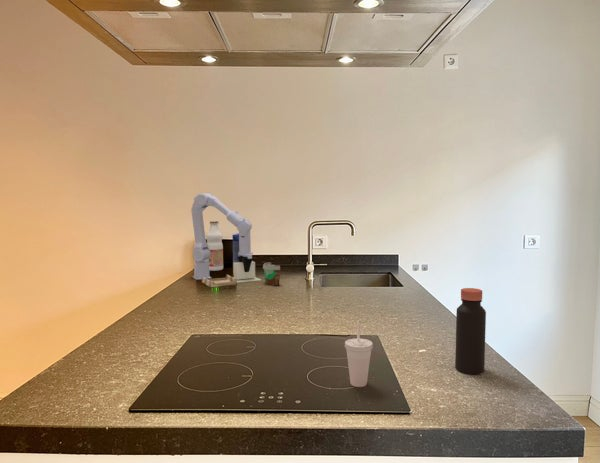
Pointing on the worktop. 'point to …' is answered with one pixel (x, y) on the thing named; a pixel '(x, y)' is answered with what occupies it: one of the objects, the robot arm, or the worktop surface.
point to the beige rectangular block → (240, 272)
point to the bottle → (470, 332)
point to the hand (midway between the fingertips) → (245, 271)
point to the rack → (228, 278)
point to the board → (248, 279)
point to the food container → (271, 274)
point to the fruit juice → (215, 247)
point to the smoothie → (358, 359)
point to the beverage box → (235, 249)
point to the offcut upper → (221, 282)
